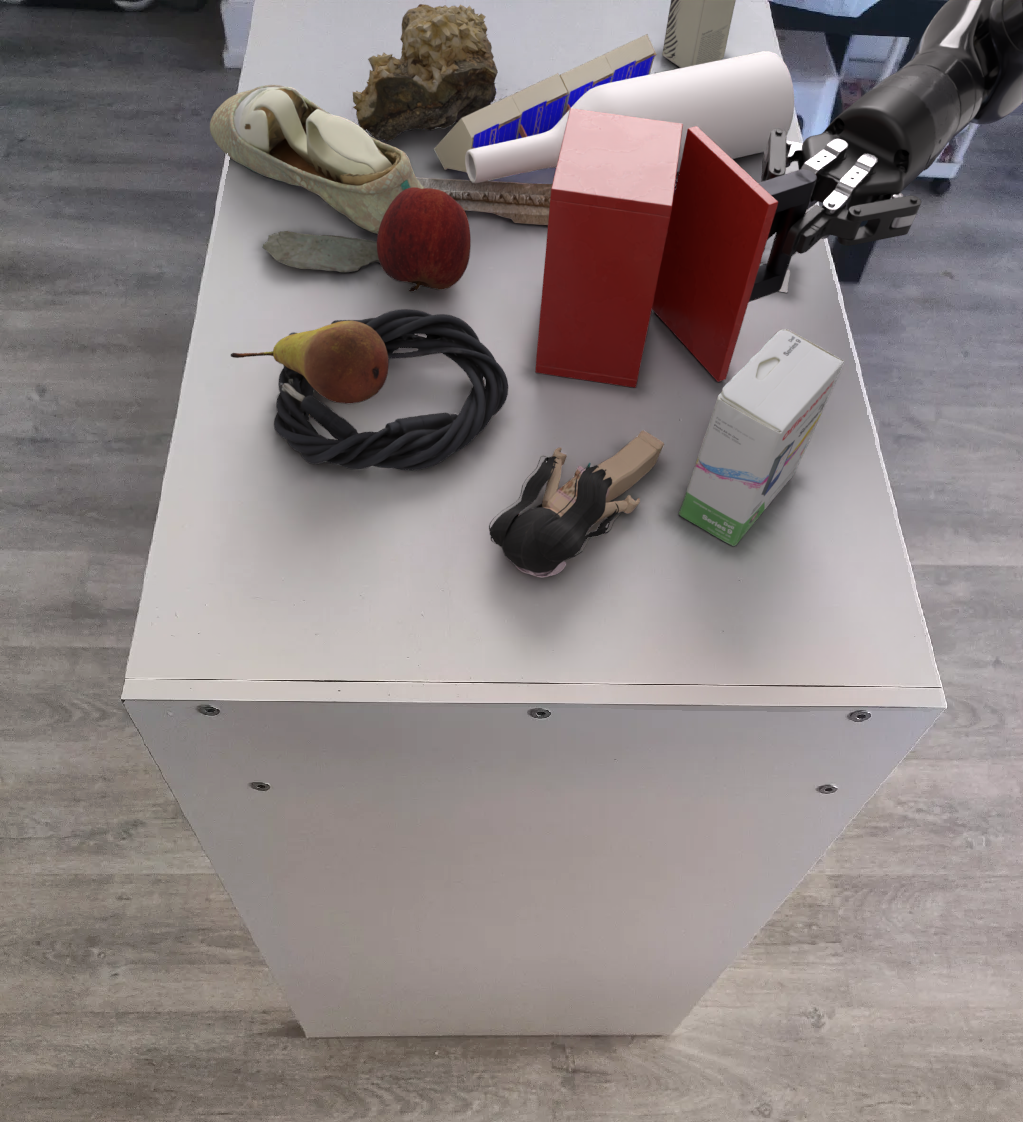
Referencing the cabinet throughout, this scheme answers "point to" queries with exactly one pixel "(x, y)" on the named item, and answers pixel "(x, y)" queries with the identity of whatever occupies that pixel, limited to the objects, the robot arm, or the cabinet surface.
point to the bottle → (668, 112)
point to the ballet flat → (313, 151)
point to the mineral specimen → (429, 74)
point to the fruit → (335, 360)
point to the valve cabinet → (605, 244)
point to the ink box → (758, 434)
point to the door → (722, 248)
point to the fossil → (498, 198)
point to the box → (697, 31)
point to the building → (542, 102)
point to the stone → (321, 251)
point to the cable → (404, 438)
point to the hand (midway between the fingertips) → (776, 236)
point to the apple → (424, 239)
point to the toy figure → (571, 507)
